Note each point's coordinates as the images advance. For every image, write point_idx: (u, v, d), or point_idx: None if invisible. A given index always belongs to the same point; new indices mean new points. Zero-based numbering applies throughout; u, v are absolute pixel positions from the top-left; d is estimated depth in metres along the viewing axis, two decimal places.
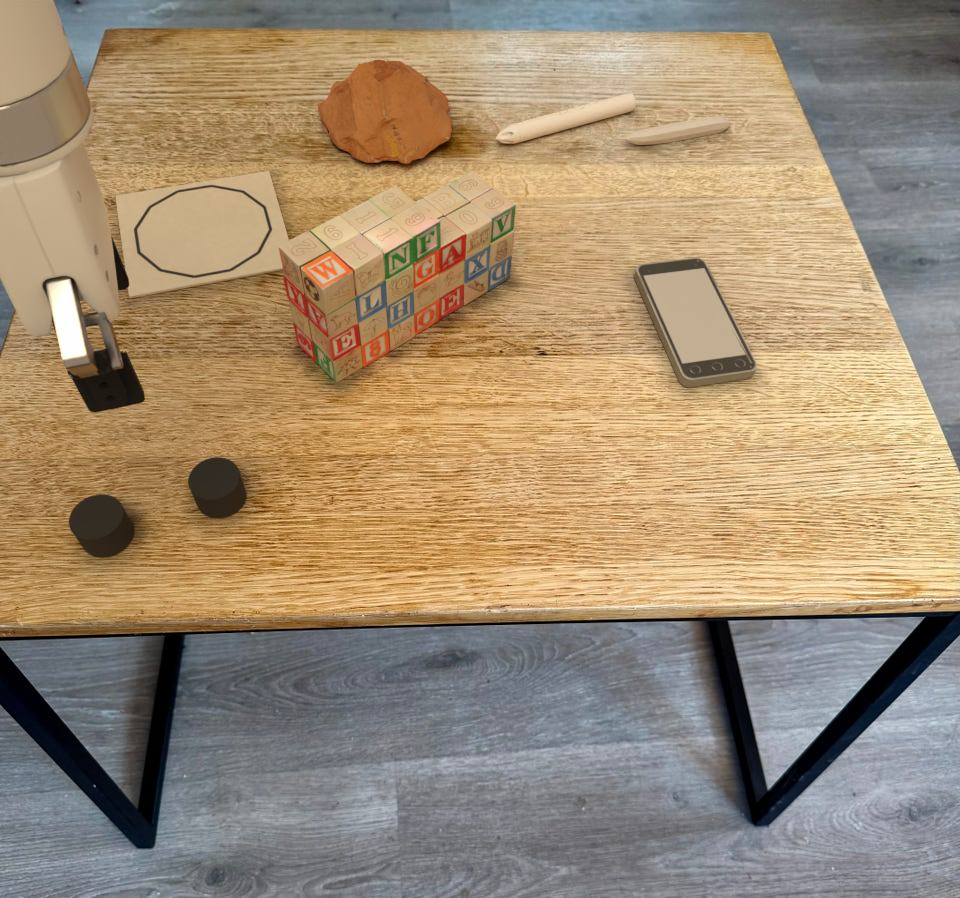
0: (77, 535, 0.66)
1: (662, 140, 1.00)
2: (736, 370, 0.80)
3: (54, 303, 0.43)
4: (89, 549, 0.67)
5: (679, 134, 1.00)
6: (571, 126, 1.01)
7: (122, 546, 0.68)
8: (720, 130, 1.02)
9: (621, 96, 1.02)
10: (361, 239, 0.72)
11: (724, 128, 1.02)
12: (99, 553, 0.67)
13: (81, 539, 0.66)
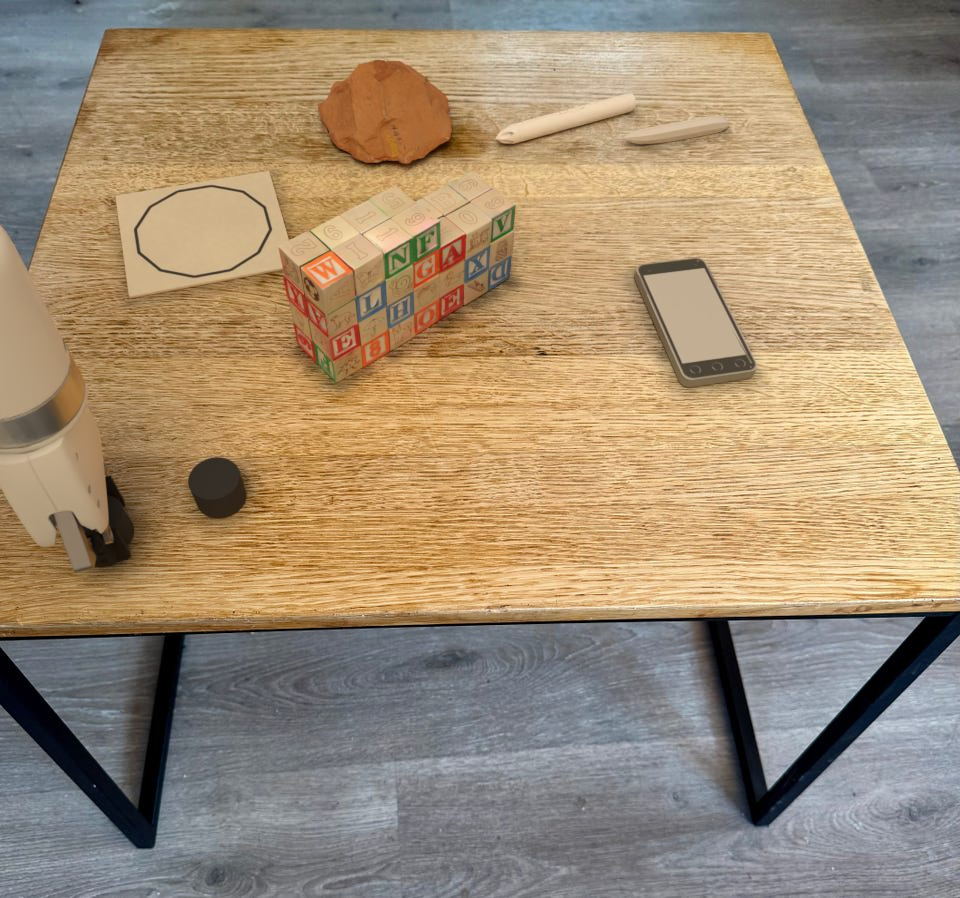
0: None
1: (662, 139, 1.00)
2: (736, 370, 0.80)
3: (63, 532, 0.58)
4: None
5: (679, 133, 1.00)
6: (571, 126, 1.01)
7: None
8: (720, 130, 1.02)
9: (621, 96, 1.02)
10: (361, 239, 0.72)
11: (724, 128, 1.02)
12: None
13: None
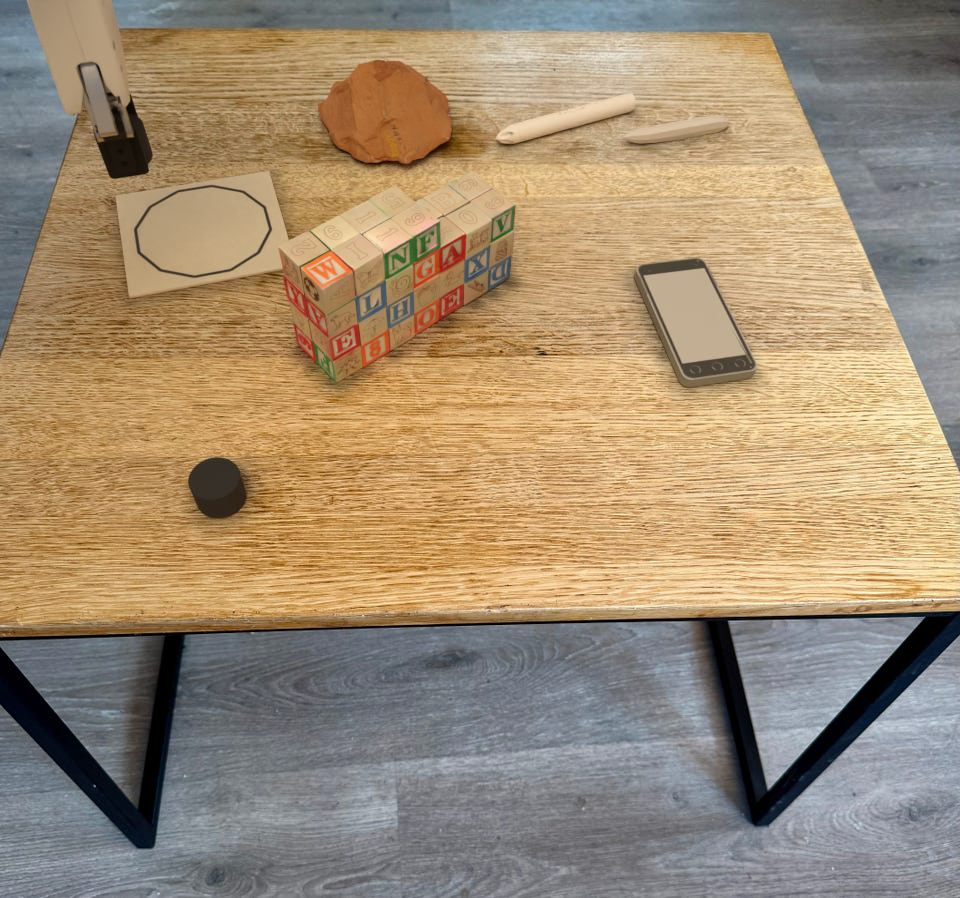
0: None
1: (661, 139, 1.00)
2: (736, 370, 0.80)
3: (89, 90, 0.64)
4: None
5: (678, 133, 1.00)
6: (571, 126, 1.01)
7: None
8: (719, 129, 1.02)
9: (621, 96, 1.02)
10: (361, 239, 0.72)
11: (723, 127, 1.02)
12: None
13: None
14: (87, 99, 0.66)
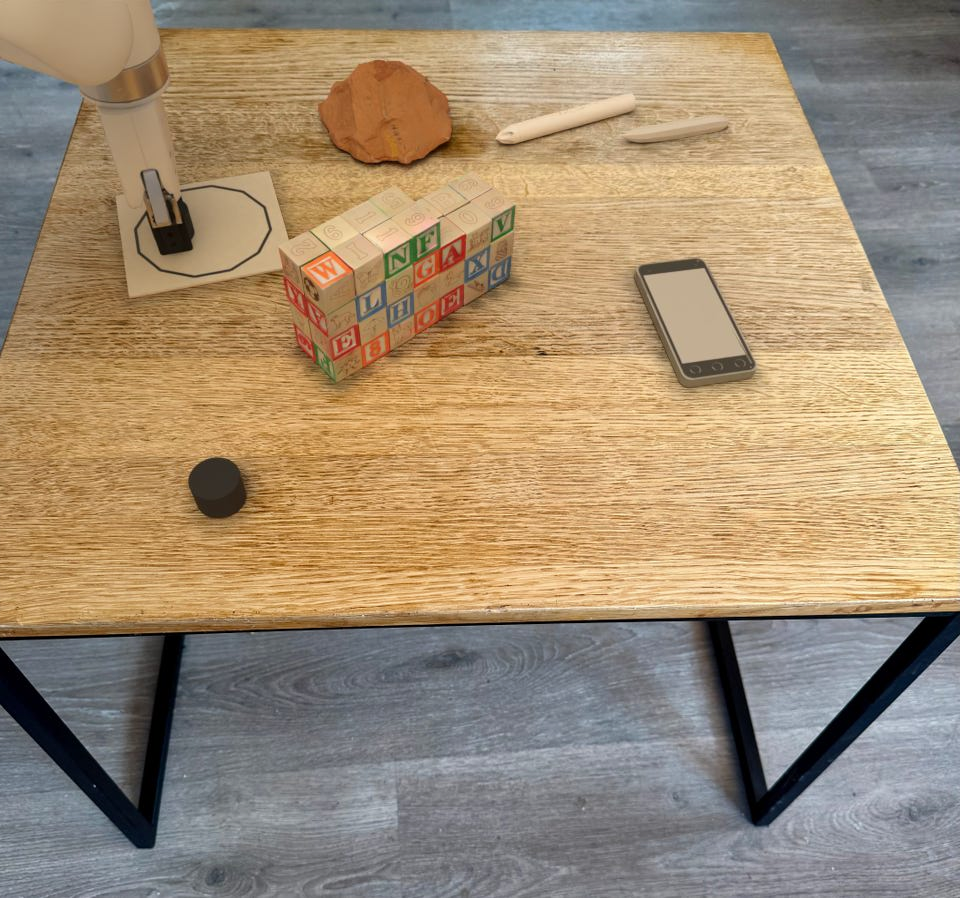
0: None
1: (660, 138, 1.00)
2: (736, 370, 0.80)
3: (149, 190, 0.77)
4: None
5: (677, 132, 1.00)
6: (571, 126, 1.01)
7: None
8: (719, 129, 1.02)
9: (621, 96, 1.02)
10: (361, 239, 0.72)
11: (723, 127, 1.02)
12: None
13: None
14: (145, 194, 0.80)
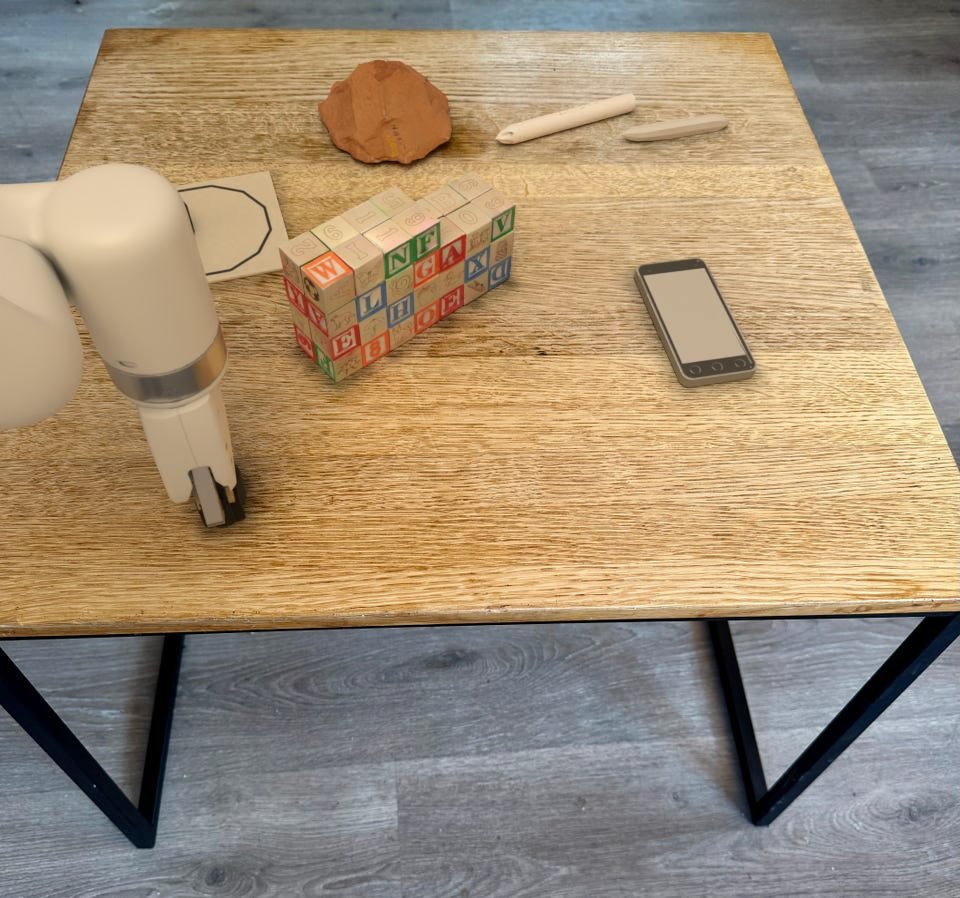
0: None
1: (659, 137, 1.00)
2: (736, 370, 0.80)
3: (199, 488, 0.60)
4: None
5: (677, 131, 1.00)
6: (571, 126, 1.01)
7: None
8: (718, 128, 1.02)
9: (621, 96, 1.02)
10: (361, 239, 0.72)
11: (722, 126, 1.02)
12: None
13: None
14: None
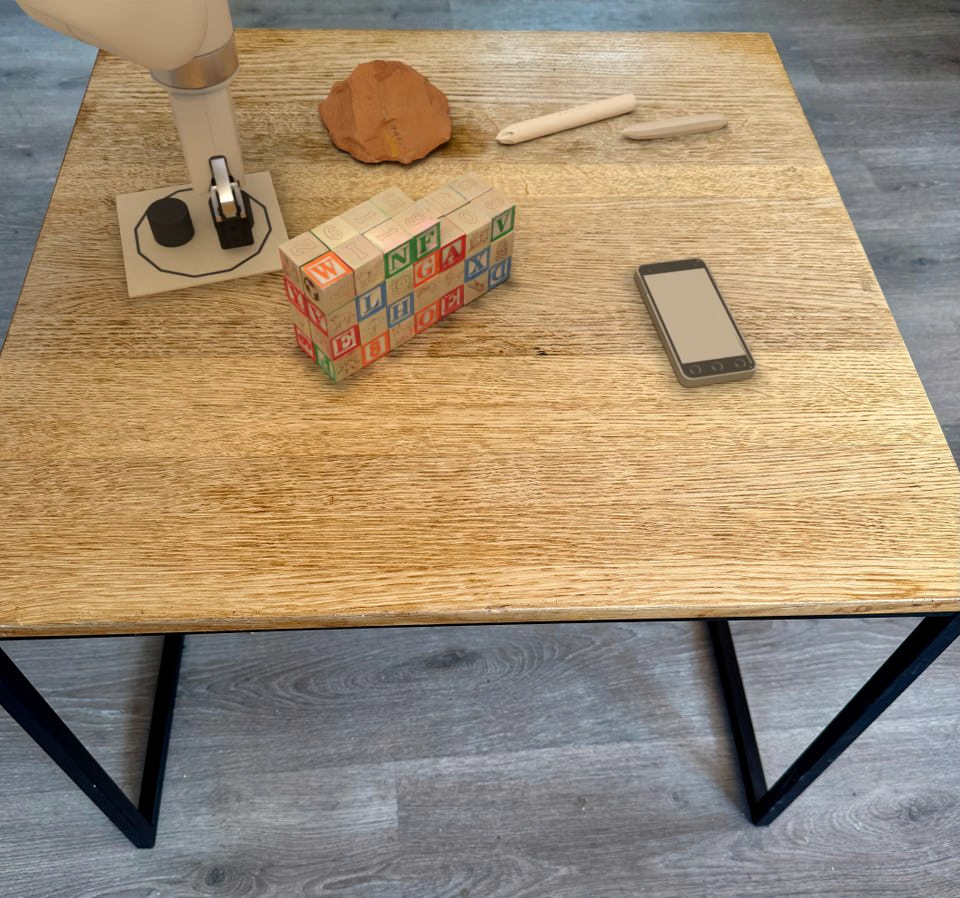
0: (153, 222, 0.85)
1: (658, 135, 1.01)
2: (736, 370, 0.80)
3: (215, 170, 0.77)
4: (161, 237, 0.86)
5: (675, 129, 1.01)
6: (571, 126, 1.01)
7: (186, 238, 0.87)
8: (717, 127, 1.02)
9: (621, 96, 1.02)
10: (361, 239, 0.72)
11: (721, 125, 1.02)
12: (169, 242, 0.86)
13: (156, 225, 0.85)
14: None
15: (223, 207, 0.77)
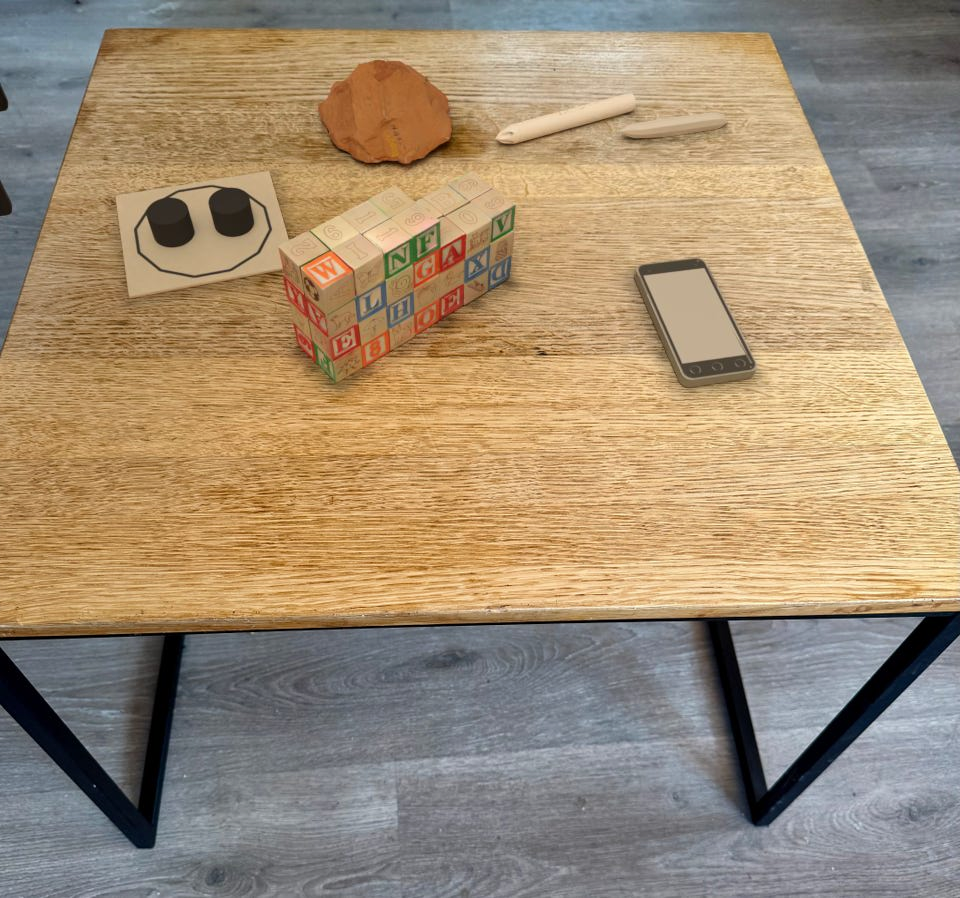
0: (153, 222, 0.85)
1: (657, 134, 1.01)
2: (736, 370, 0.80)
3: None
4: (161, 237, 0.86)
5: (675, 129, 1.01)
6: (571, 126, 1.01)
7: (186, 238, 0.87)
8: (717, 126, 1.02)
9: (621, 96, 1.02)
10: (361, 239, 0.72)
11: (721, 124, 1.02)
12: (169, 242, 0.86)
13: (156, 225, 0.85)
14: None
15: None
